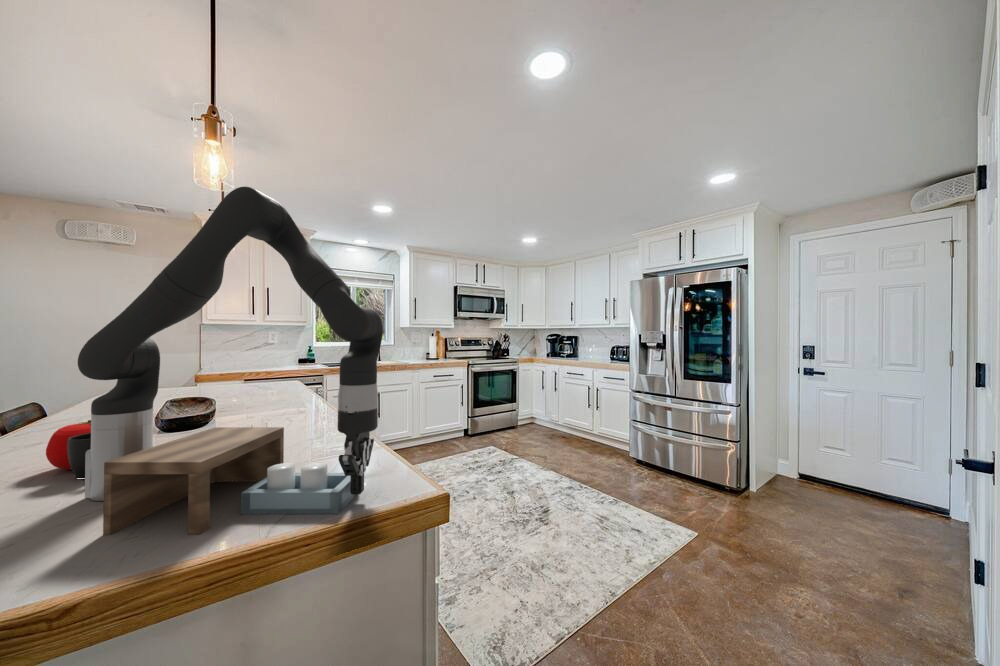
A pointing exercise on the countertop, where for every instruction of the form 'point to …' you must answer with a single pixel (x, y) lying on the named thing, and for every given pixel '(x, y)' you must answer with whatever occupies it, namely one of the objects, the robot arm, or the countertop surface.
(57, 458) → the tomato
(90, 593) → the countertop surface
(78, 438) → the mug
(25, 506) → the countertop surface
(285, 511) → the tray
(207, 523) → the counter shelf
